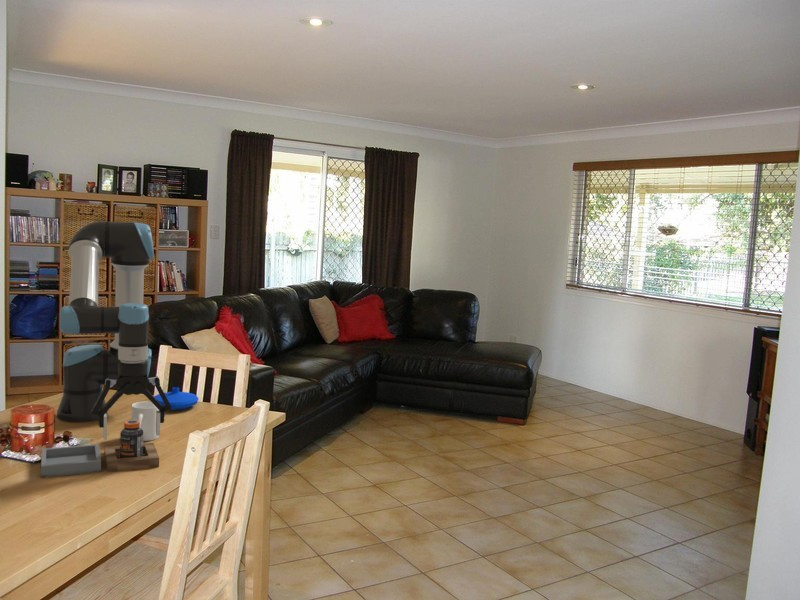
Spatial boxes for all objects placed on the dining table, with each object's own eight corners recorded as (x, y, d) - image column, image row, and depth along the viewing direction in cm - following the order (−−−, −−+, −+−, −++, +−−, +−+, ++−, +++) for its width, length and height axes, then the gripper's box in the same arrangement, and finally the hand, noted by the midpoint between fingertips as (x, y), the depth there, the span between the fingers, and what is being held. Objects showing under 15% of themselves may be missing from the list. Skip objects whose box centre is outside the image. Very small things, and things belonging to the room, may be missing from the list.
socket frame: (103, 452, 194) (103, 443, 194) (152, 447, 200) (152, 439, 199) (107, 472, 180) (107, 462, 179) (159, 466, 186) (159, 457, 185)
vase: (202, 402, 251) (203, 383, 250) (192, 414, 235) (193, 394, 234) (158, 400, 249) (159, 381, 248) (146, 412, 234) (146, 392, 233)
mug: (150, 446, 201) (151, 412, 200) (122, 445, 200) (122, 411, 199) (163, 433, 213) (164, 401, 212) (136, 432, 212) (137, 400, 211)
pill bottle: (115, 463, 186) (115, 423, 185) (128, 456, 192) (129, 417, 191) (134, 466, 185) (134, 425, 184) (147, 459, 191) (148, 420, 189)
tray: (42, 459, 186) (42, 448, 185) (98, 454, 192) (98, 444, 192) (41, 478, 173) (40, 466, 173) (100, 471, 179) (101, 461, 179)
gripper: (82, 365, 176) (82, 444, 178) (182, 361, 187) (181, 436, 190) (82, 359, 183) (81, 436, 185) (178, 356, 194) (176, 428, 196)
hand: (131, 436), depth 187 cm, fingers open, 13 cm apart
